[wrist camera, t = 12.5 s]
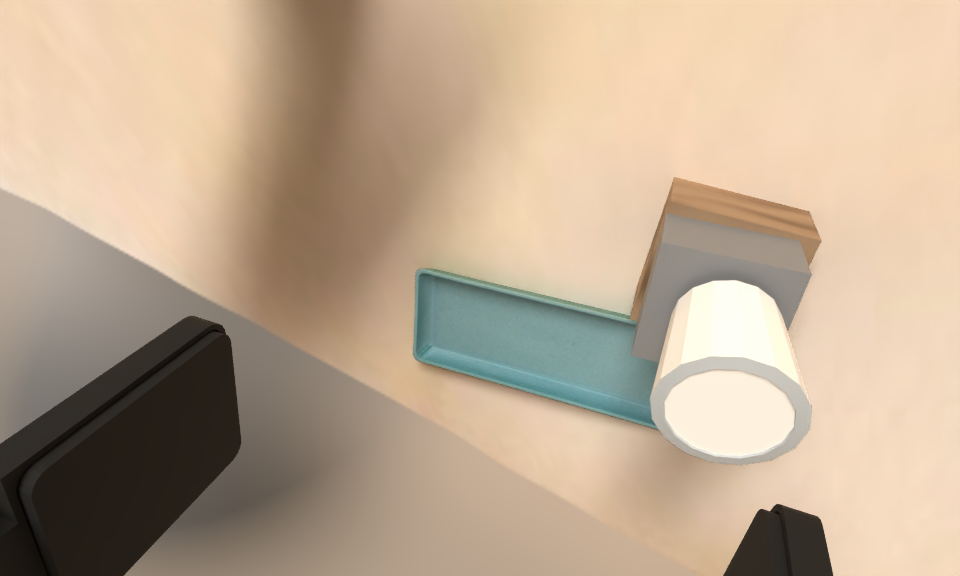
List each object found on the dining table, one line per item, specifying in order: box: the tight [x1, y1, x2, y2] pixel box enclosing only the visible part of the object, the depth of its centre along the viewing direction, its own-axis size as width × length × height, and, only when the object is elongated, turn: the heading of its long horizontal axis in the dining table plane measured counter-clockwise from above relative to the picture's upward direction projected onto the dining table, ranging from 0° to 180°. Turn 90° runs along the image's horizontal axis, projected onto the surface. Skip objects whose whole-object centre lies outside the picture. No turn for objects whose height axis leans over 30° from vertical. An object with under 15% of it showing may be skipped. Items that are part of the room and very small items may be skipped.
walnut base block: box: [630, 177, 821, 321], centre depth 39 cm, size 8×8×5 cm
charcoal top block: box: [631, 213, 811, 363], centre depth 35 cm, size 8×8×4 cm
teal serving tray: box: [413, 269, 659, 430], centre depth 47 cm, size 26×9×2 cm, turn 84°
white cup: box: [650, 280, 812, 465], centre depth 30 cm, size 7×7×7 cm
